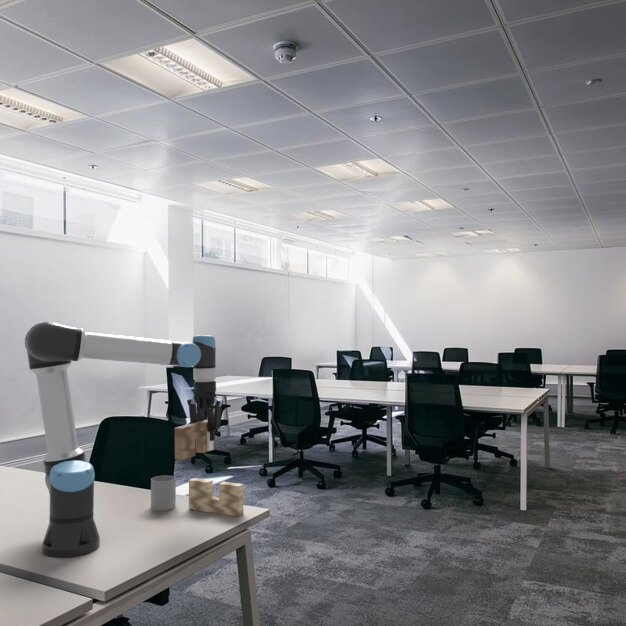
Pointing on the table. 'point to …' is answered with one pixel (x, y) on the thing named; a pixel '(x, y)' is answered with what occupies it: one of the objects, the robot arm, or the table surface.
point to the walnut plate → (191, 439)
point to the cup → (163, 492)
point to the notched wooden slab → (224, 504)
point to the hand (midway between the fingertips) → (205, 449)
